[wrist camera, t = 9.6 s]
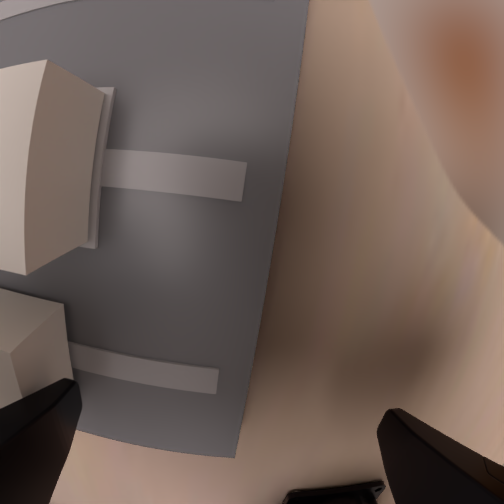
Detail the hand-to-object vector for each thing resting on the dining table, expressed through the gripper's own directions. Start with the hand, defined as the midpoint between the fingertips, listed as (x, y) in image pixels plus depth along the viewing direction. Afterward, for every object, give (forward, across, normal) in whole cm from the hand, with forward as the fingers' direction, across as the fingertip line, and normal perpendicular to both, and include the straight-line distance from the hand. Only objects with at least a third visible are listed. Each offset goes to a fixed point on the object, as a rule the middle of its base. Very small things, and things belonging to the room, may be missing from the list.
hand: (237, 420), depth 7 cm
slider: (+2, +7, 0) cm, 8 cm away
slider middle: (+2, +7, -6) cm, 9 cm away
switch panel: (+4, +10, -6) cm, 12 cm away
